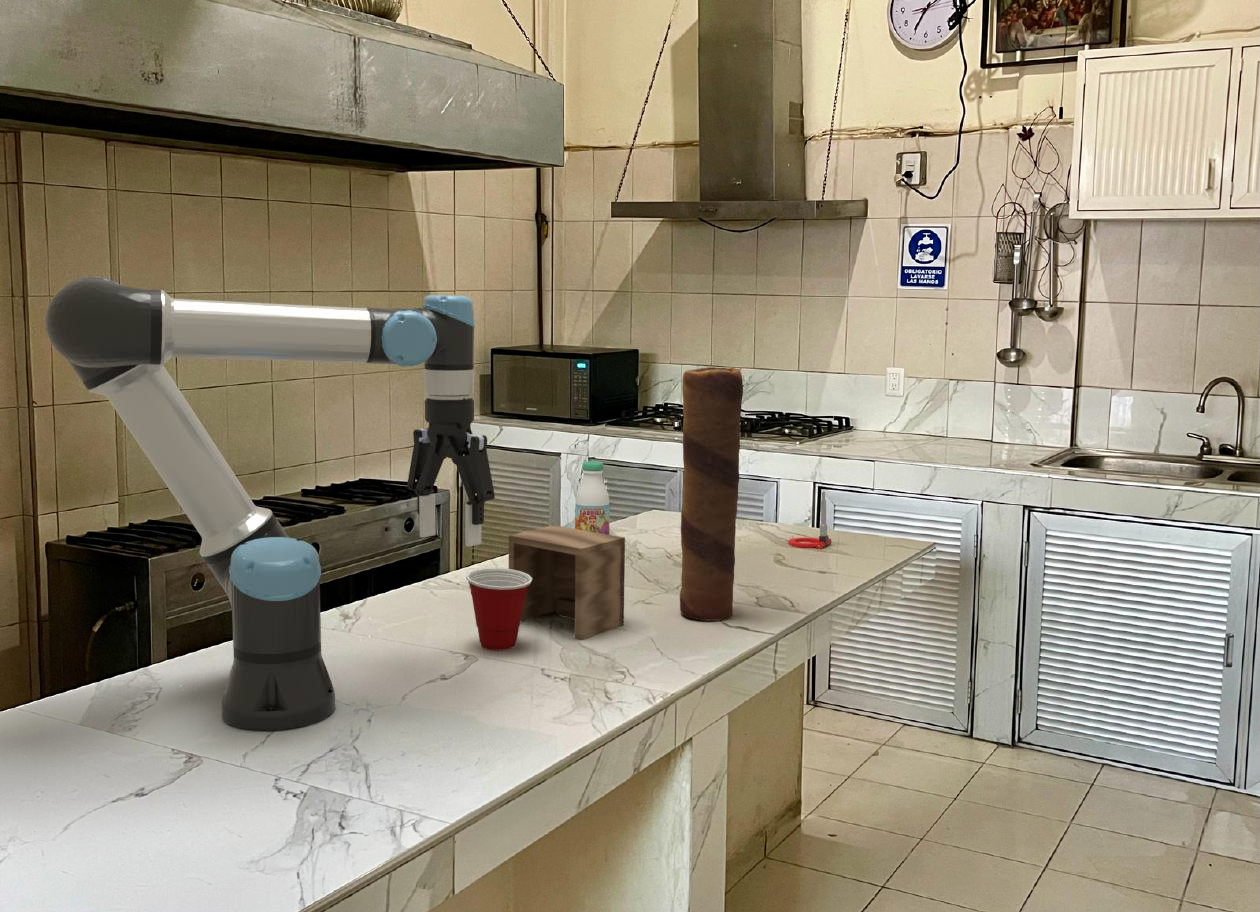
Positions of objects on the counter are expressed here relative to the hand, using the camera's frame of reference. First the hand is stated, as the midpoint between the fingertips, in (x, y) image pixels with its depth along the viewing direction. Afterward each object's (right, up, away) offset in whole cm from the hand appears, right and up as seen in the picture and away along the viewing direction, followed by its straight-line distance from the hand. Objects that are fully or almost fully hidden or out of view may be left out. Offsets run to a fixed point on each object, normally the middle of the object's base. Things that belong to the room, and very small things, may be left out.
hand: (450, 540), depth 188 cm
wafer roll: (+42, -16, +32) cm, 55 cm away
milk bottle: (+19, -8, +84) cm, 86 cm away
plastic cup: (+6, -18, +11) cm, 23 cm away
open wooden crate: (+17, -16, +25) cm, 34 cm away
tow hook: (+69, -8, +93) cm, 117 cm away
